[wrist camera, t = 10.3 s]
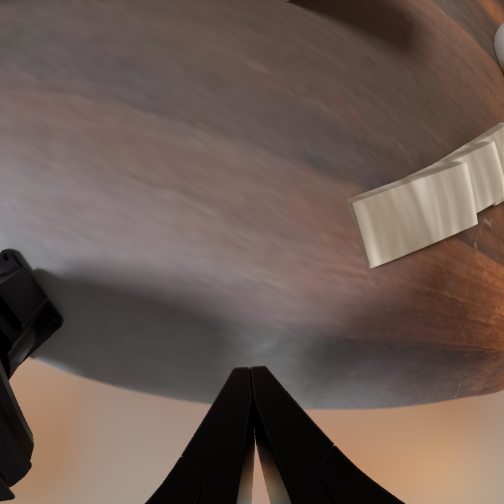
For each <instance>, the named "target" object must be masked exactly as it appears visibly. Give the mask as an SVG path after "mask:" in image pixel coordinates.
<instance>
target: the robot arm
mask: <svg viewBox="0 0 504 504" xmlns="http://www.w3.org/2000/svg"><path fill="white" fill-rule="evenodd" d="M6 254H7V255H8V257H9V259H6ZM54 318H56V319H57V320H58V323H56V322H55V321H54ZM62 324H63V318H62V316H61V315H60V313H59V312H58V311H57V310H56V309H55V307H54V306H53V305H52V304H51V303H50V301H49V300H48V299H47V295H46V294H45V293H44V292H43V290H42V289H41V288H40V286H39V285H38V284H37V282H36V281H35V280H34V279H33V277H32V276H31V275H30V273H29V272H28V270H27V269H26V268H24V267H23V266H22V265H21V263H20V262H19V260H18V259H17V258H16V256H15V255H14V253H13V252H12V251H11V250H10V249H5V250H3V251H2V252H1V253H0V501H6V500H12V499H14V498H15V495H14V493H13V492H12V491H11V490H10V488H9V487H11V486H13V485H15V484H16V483H17V482H18V481H19V480H21V479H22V478H23V477H24V476H25V475H26V474H27V472H28V471H29V470H30V468H31V466H32V464H31V462H30V459H31V455H32V451H33V447H34V442H33V434H32V432H31V430H30V428H29V426H28V424H27V422H26V420H25V418H24V416H23V413H22V411H21V409H20V407H19V405H18V403H17V400H16V398H15V395H14V393H13V391H12V388H11V386H10V383H9V379H10V378H11V377H12V375H13V374H14V372H15V371H16V369H17V368H18V366H19V365H20V364H21V363H23V361H25V359H27V358H28V357H29V356H30V355H31V354H32V353H33V352H34V351H35V350H36V349H37V348H38V347H39V346H40V345H41V344H42V343H44V342H45V341H46V340H47V339H48V338H49V337H50V336H51V335H52V334H53V333H54V332H55V331H57V330H58V329H59V328H60V327H61V325H62ZM254 430H255V433H254ZM255 440H256V446H257V450H258V455H259V458H260V463H261V467H262V471H263V475H264V479H265V483H266V487H267V491H268V495H269V498H270V503H271V504H405V503H403V502H402V501H401V500H399V499H398V498H397V497H395V496H394V495H392V494H391V493H390V492H388V491H387V490H385V489H384V488H383V487H381V486H380V485H379V484H377V483H376V482H375V481H373V480H372V479H371V478H370V477H368V476H367V475H366V474H365V473H363V472H362V471H361V470H360V469H358V468H357V467H356V466H355V465H354V464H353V463H352V462H351V461H350V460H349V459H348V458H347V457H346V456H345V455H344V454H343V453H342V452H341V451H340V450H339V449H338V447H337V446H334V443H333V442H332V441H331V440H330V439H329V438H328V437H327V436H326V435H325V434H324V433H323V432H322V430H321V429H320V428H319V427H318V426H317V425H316V424H315V423H314V421H313V420H312V419H311V418H310V417H309V416H308V415H307V414H306V412H305V411H304V410H303V409H302V408H301V407H300V406H299V405H298V403H297V402H296V401H295V400H294V399H293V398H292V396H291V395H290V394H289V393H288V392H287V391H286V390H285V388H284V387H283V386H282V385H281V384H280V383H279V381H278V380H277V379H276V378H275V377H274V375H273V374H272V373H271V372H270V371H269V369H268V368H267V367H266V366H255V367H251V368H250V369H249V368H248V367H239V368H234V369H233V370H232V372H231V374H230V376H229V377H228V379H227V381H226V382H225V384H224V386H223V387H222V389H221V391H220V393H219V394H218V396H217V398H216V399H215V401H214V403H213V404H212V406H211V408H210V410H209V411H208V413H207V414H206V416H205V418H204V419H203V421H202V423H201V424H200V426H199V428H198V429H197V431H196V432H195V434H194V436H193V437H192V439H191V440H190V442H189V444H188V445H187V447H186V448H185V450H184V452H183V454H182V455H181V456H182V457H180V458H179V459H178V461H177V463H176V464H175V466H174V467H173V469H172V470H171V472H170V473H169V474H168V476H167V477H166V479H165V480H164V482H163V483H162V484H161V485H160V487H159V488H158V489H157V490H156V491H155V493H154V494H153V495H152V496H151V497H150V498H149V500H148V501H147V502H146V503H145V504H251V500H252V485H253V484H252V483H253V469H254V468H253V467H254V454H255Z"/></svg>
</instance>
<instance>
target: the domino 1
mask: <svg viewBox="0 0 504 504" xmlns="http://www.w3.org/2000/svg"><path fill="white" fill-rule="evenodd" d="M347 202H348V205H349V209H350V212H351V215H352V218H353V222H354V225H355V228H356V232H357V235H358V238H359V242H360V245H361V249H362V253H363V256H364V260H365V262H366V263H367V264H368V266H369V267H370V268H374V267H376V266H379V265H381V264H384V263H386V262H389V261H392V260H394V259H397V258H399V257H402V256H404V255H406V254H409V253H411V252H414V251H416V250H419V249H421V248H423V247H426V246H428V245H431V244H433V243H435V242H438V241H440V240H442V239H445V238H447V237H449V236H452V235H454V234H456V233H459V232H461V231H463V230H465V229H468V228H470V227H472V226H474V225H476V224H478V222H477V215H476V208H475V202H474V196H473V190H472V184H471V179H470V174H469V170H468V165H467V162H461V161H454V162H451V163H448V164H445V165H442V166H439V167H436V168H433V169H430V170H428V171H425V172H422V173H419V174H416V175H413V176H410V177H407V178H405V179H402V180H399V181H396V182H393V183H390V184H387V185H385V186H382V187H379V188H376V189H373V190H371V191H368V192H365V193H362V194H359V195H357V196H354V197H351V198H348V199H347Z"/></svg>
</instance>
